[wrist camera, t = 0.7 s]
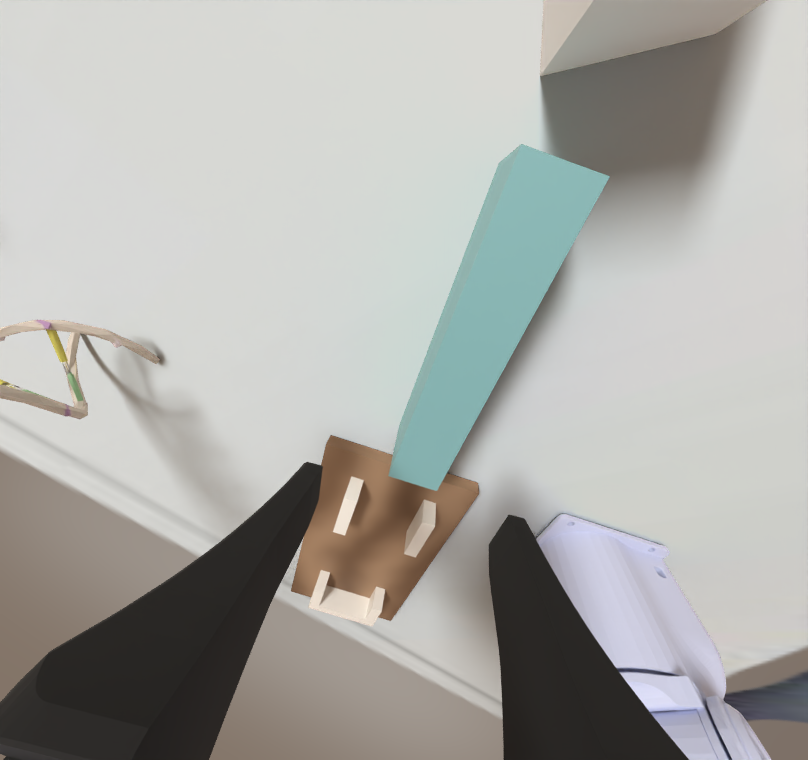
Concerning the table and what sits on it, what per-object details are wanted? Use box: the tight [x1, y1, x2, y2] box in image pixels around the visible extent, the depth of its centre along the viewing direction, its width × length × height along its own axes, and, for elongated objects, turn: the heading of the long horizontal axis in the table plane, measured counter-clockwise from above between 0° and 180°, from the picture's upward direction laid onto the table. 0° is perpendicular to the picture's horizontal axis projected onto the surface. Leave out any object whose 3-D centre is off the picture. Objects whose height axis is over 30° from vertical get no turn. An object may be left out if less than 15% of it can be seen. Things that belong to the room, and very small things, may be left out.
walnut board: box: [291, 435, 479, 621], centre depth 29 cm, size 12×24×1 cm, turn 162°
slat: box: [388, 144, 610, 491], centre depth 16 cm, size 3×16×5 cm, turn 163°
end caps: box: [308, 477, 436, 626], centre depth 27 cm, size 7×19×2 cm, turn 162°
